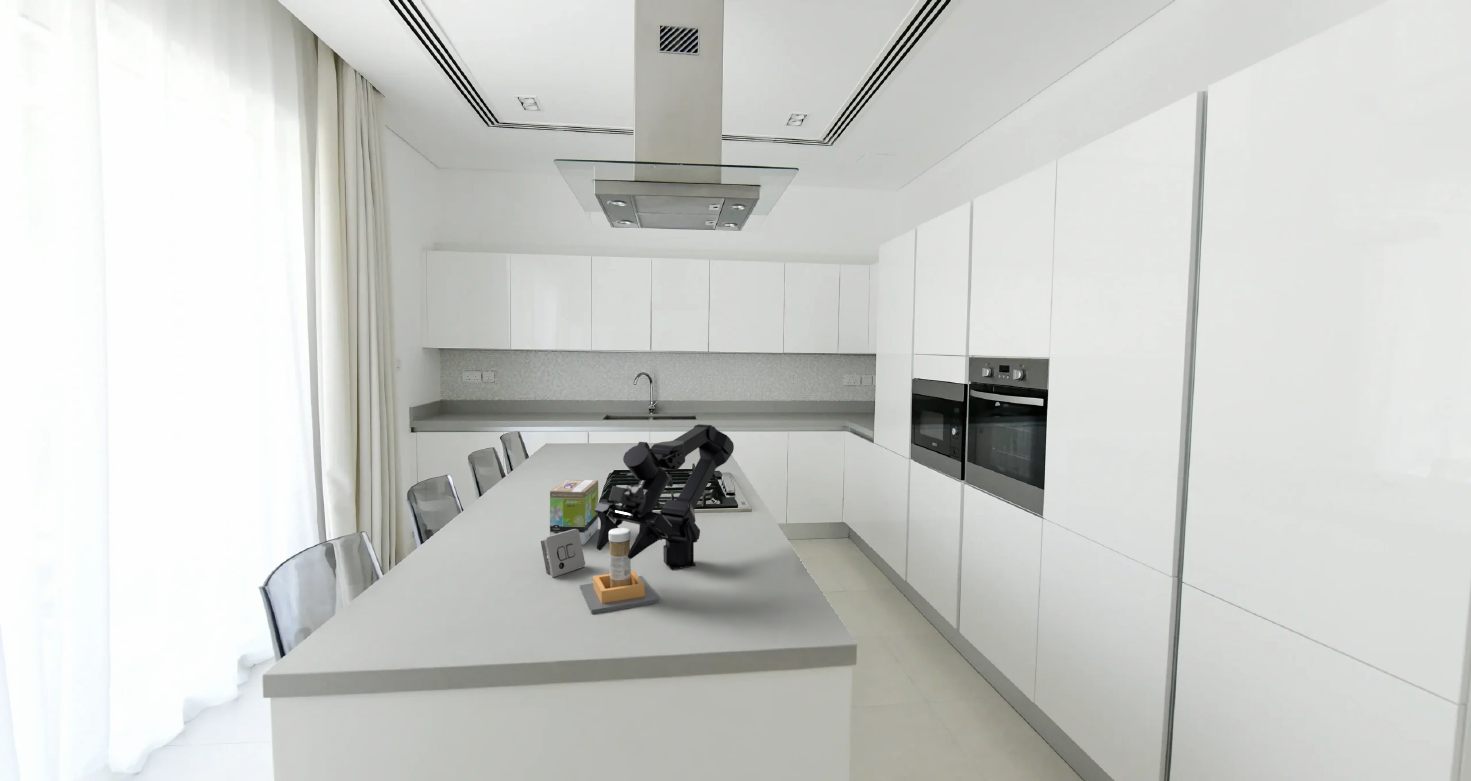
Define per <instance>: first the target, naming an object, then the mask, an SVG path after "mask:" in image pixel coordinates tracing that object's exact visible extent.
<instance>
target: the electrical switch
mask: <svg viewBox="0 0 1471 781" xmlns="http://www.w3.org/2000/svg"><path fill="white" fill-rule="evenodd" d="M540 545H541V546H540V547H541V551H542V556H543V560H544V567H545V571H546V574H547V575H548V574H550V576H551V577H552V578H554V577H555V578H556V577H558V576H561V575H564V574H567V573H570V572H573V571H576V570H578V569H581V568H584V567H585V566H586V561H585V556H584V550H583V546H582V544H581V539H580V534H579V530H578V529H572V530H569V531H565V532H562V533H558V534H555V535H551V536H550V535H548V536H545V537H544V539H543V540H541V541H540Z"/></svg>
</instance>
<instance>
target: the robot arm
mask: <svg viewBox="0 0 1471 781" xmlns="http://www.w3.org/2000/svg"><path fill="white" fill-rule="evenodd" d="M697 449H698V452H699V460H698V461H697V463H696V465H695V466H694V468H693V470H692V472H691V473H690V476H689V477H688V479H687V481H686V483H685V485H684V486H683V488H682V490H681V492H680V493H679V495H678V497H677V498H676V499H675V500H674V499H667V500H666V501H665V503H664V505H663V506H662V508H661V509H660V511H659V512H654V509H655V508H656V509H659V508H660V506H661V503H660V502H659V499H660V498H661V496H662V494H663V492H664V491H665V489H666V487H670V488H672V487H673V486H674V482H673V479H672V474H669V473H667V471H666V470H670V471H671V470H672V471H677V470H678V469H680V468H681V467H682V466H683V465H684V464H685V462H686V456H689V454H691V453H692V452H694V451H695V450H697ZM734 449H735V445H734V442H733V441H732V439H731V438H730V437H729V436H728V435H727V434H725V433H723V432H721V431H720V430H717V428H716V427H715V426H714V425H712V424H701V423H698V424H695V425H694V426H693V427H692V429H690V430H688V431H686V432H685V433H683V434H681V435H680V436H678V437H677V438H674V439H672V440H669V441H667V440H666V441H661V442H657V443H654V444H653V445H652V446H651V447H650V445H649V444H648V442H647V441H638V443H637V445H634V446H633V447H632V446H631V447H630V448H629V449H628V450H627V451H625V453H624V454H623V458H622V459H623V460H622V461H623V463H624V465H625V467H627V469H628V470H629V472H630V473H631V474H632V475H633V476H634V478H635V479H636V480H638V481H639V482H638V484H637V485H636V486H632V487H630V488H625V487H620V486H617V485H616V486H615V485H612V487H611V491H610V493H609V497H608V501H609V502H607V501H601V502H598V505H597V507H596V508H595V510H594V511H595V512H596V513H597V516H598V519H599V521H600V526H599V527H600V528H599V534H598V539H597V543H596V546H595V548H596V549H597V550H598V552H599V551H601V550H602V549H603V548H604V547H605V546H607V544H608V543H610V542H609V531H610V530H612V529H615V528H620V527H619V526H620V525H622V523H623V522H625V523H630V524H634V525H635V524H637V525H639V529H638V530H639V532H638V534H637V535H636V537H635V539H634V541H633V543H632V545H631V546H630V551H629V554H628V558H629V559H630V560H632V559H633V558H635V557H636V556H638V555H639V554H640V553H642V552H643V551H644V550H646V549H647V548H648V547H650V546H652V545H653V544H655V543H657V542H658V541H662V540H665V544H664V545H663V546H662V548H663V549H662V550H663V553H662V554H663V562H664V564H665V565H666V566H667V567H668V568H669V569H670V570H675V569H676V570H677V569H684V568H690V567H695V566H697V563H696V561H695V558H694V556H695V555H694V552H695V551H694V544H695V543H698V540H699V539H700V534H701V529H700V528H699V526H698V525H697V524H696V515H695V510H696V507H697V505H698V503H699V502H700V499H701V498H702V496H703V494H704V492H705V491H706V488H707V486H708V485H709V482H710V481H711V479H712V477H713V475H714V474H715V472H716V470H717V468H720V467H721V466H722V465H724V464H726V463H727V461H728V460H729V459H730V457H731V456H732V454H733V452H734ZM611 502H615V503H617V504H618V507H619V508H620V509H622V510H623V511H622V510H620V509H619V508H618V507H617V506H616V505H615V504H614V503H611Z"/></svg>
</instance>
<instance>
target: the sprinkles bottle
mask: <svg viewBox="0 0 1471 781" xmlns="http://www.w3.org/2000/svg"><path fill="white" fill-rule="evenodd" d="M630 541H631V530H630V529H629V528H626V527H619V528H615V529H612V530H610V531H609V542H608V543H609V574H610V588H614V587H621V586H627V585H630V576H631V571H632V570H631V559H629V558H628V554H629V551H630V549H631V546H630V543H631V542H630Z"/></svg>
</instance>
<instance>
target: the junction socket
mask: <svg viewBox="0 0 1471 781" xmlns="http://www.w3.org/2000/svg"><path fill="white" fill-rule="evenodd" d="M592 577H593V578H592V580H593V582H591V583H583V584H580V585H579V590H580V592H581V595H582V596H583V598H584V601H585V603H586V605H587V607H588V609H589V610H590V613H591V615H594V614H600V613H605V612H612V611H617V610H618V611H619V610H623V609H624V610H625V609H630V608H635V607H641V606H647V605H653V604H659V603H660V597H659V596H658V595H657V594H656V592H655V590H653V588H652V587H651V586H650V584H649V583H648V582H647V580H646V579H645V578H644V577H643V575H638V574H637V573H636V571H635V570H631V576H630V585H627V586H621V587H614V588H610V573H607V574H606V573H605V574H599V575H593V576H592Z"/></svg>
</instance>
